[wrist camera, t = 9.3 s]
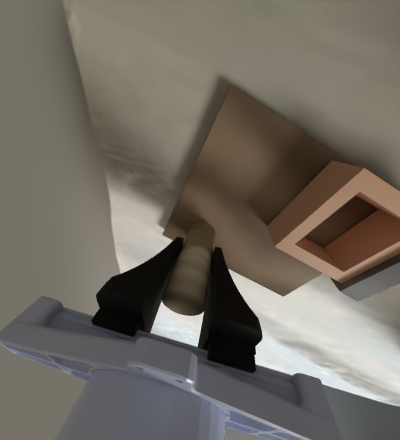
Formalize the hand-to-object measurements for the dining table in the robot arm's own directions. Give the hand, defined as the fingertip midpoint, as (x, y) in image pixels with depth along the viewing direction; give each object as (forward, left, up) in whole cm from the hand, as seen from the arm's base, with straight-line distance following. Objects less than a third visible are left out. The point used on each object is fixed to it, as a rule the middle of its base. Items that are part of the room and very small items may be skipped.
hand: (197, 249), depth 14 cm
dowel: (0, 0, -3) cm, 3 cm away
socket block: (-8, +8, -3) cm, 12 cm away
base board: (-4, +5, -4) cm, 8 cm away
